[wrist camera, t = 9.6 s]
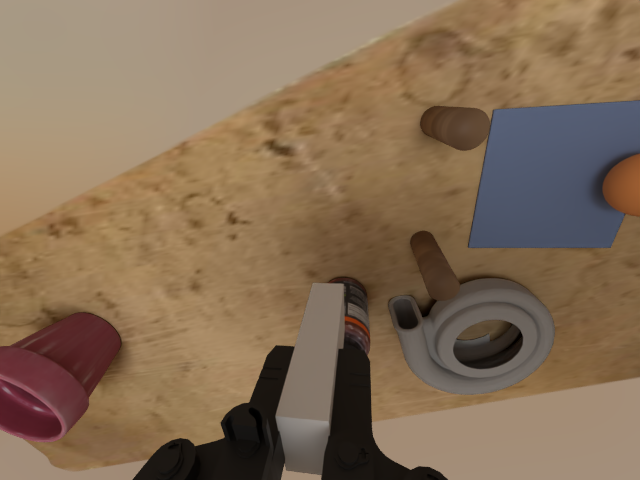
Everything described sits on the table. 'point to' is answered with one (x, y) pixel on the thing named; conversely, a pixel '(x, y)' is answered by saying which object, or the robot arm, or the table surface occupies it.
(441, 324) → the turbocharger housing
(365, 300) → the supplement bottle
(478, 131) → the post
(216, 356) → the table surface
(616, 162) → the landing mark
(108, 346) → the plant pot
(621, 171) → the orange egg
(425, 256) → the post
